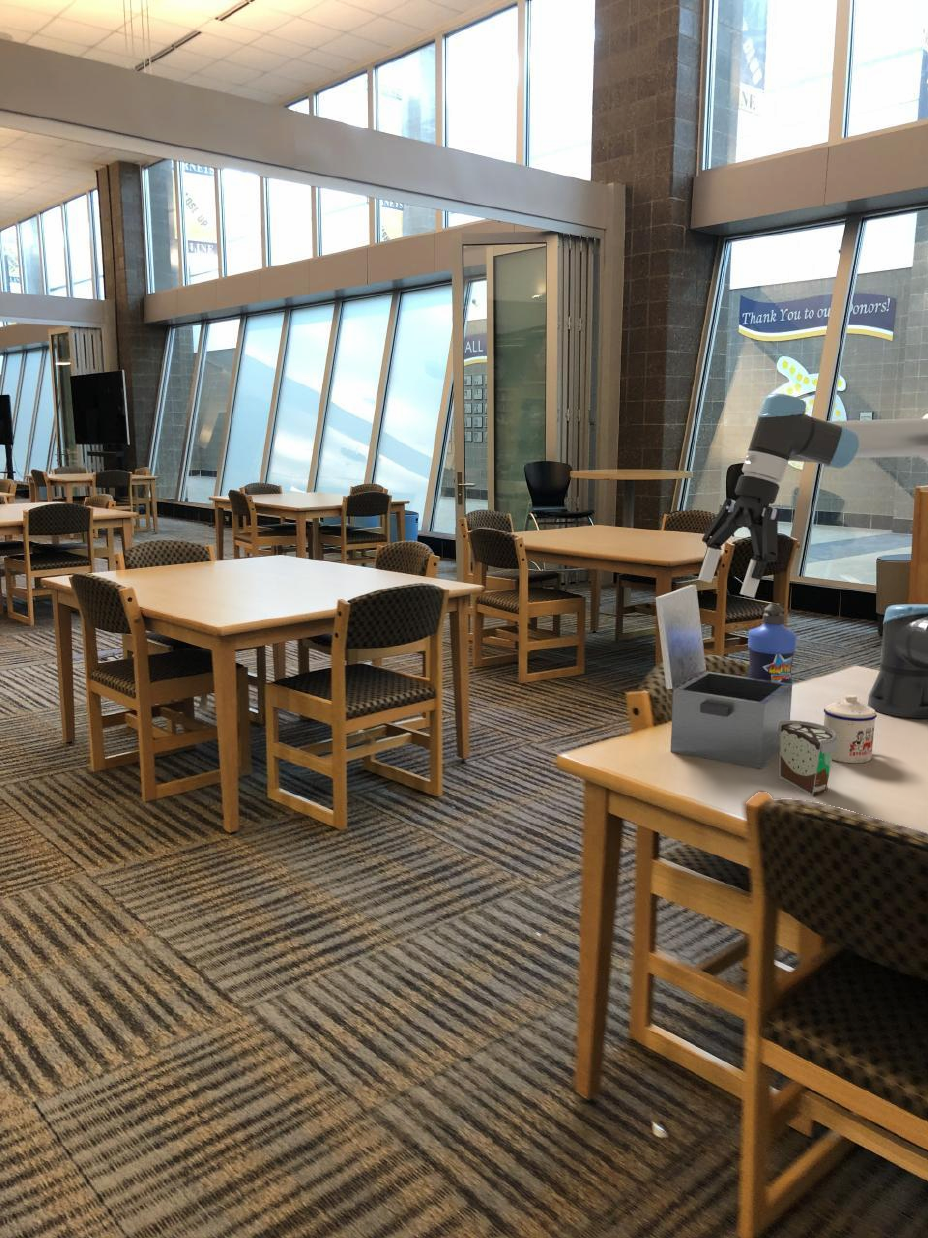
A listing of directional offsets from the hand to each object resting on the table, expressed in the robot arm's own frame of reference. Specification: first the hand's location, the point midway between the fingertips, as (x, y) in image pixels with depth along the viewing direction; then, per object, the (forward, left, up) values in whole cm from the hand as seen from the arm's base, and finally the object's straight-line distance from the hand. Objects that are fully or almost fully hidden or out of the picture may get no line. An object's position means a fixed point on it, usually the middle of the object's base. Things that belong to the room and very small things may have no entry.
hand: (724, 588), depth 182 cm
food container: (-21, +13, -30) cm, 39 cm away
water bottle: (-4, -18, -30) cm, 36 cm away
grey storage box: (-3, +2, -30) cm, 30 cm away
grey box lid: (+7, +2, -9) cm, 12 cm away
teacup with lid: (-23, -7, -30) cm, 39 cm away
